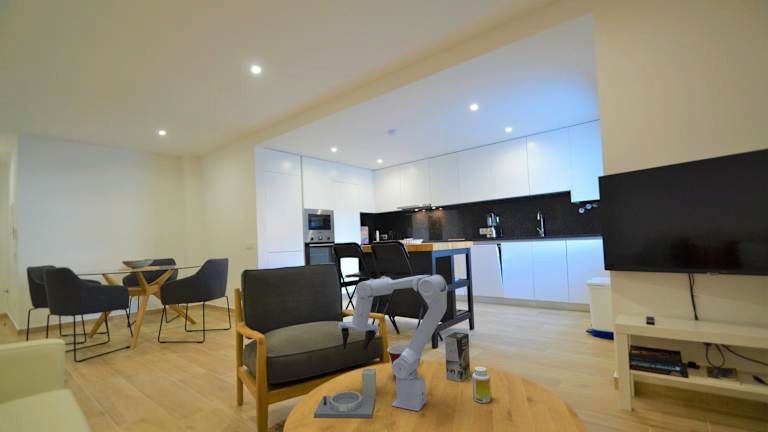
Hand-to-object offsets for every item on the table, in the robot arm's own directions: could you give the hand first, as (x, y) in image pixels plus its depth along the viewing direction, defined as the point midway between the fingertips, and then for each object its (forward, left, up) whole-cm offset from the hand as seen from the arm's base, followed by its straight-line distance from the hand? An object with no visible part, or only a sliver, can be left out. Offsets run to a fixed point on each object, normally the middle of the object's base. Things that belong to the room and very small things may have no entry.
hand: (354, 348), depth 126 cm
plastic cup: (-11, -17, -15) cm, 25 cm away
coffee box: (-31, -27, -15) cm, 44 cm away
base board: (-4, +12, -15) cm, 20 cm away
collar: (-3, +12, -14) cm, 19 cm away
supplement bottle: (-43, -11, -15) cm, 47 cm away
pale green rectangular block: (-6, 0, -15) cm, 16 cm away
